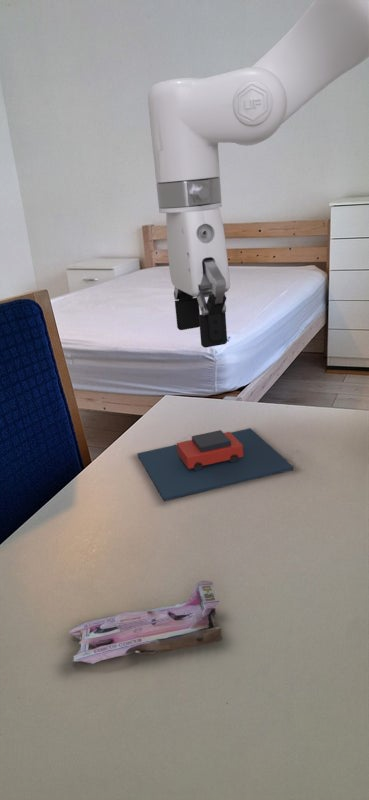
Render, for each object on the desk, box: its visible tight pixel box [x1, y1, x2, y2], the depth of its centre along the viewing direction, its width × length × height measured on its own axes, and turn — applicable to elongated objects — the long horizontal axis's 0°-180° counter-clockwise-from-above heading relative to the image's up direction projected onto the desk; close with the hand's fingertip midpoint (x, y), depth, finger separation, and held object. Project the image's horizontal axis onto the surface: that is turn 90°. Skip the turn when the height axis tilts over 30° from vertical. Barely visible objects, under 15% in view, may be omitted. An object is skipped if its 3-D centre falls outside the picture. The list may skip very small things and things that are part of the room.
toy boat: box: [68, 580, 222, 665], centre depth 52 cm, size 13×6×4 cm, turn 98°
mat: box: [137, 427, 294, 502], centre depth 83 cm, size 18×14×1 cm
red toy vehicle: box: [176, 429, 243, 471], centre depth 83 cm, size 8×3×5 cm
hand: (201, 336), depth 77 cm, fingers open, 9 cm apart
